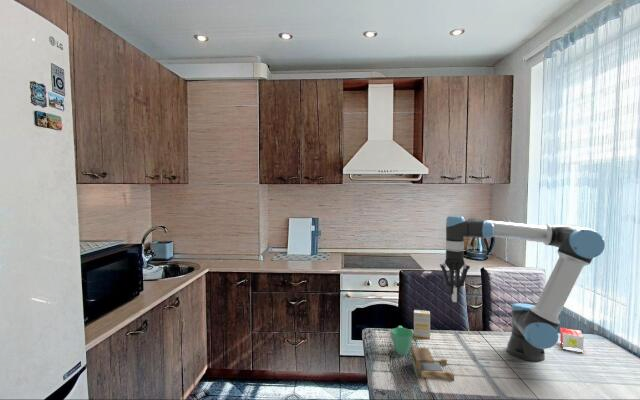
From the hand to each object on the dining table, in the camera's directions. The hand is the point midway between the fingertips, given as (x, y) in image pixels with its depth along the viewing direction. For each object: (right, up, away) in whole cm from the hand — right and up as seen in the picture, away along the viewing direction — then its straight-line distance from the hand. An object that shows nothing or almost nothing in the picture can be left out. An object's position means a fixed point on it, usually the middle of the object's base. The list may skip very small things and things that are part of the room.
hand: (454, 301), depth 151 cm
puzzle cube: (+61, -26, +10) cm, 68 cm away
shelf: (-14, -27, -10) cm, 32 cm away
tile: (-15, -27, -11) cm, 33 cm away
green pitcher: (-22, -27, +8) cm, 36 cm away
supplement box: (-8, -26, +24) cm, 36 cm away
